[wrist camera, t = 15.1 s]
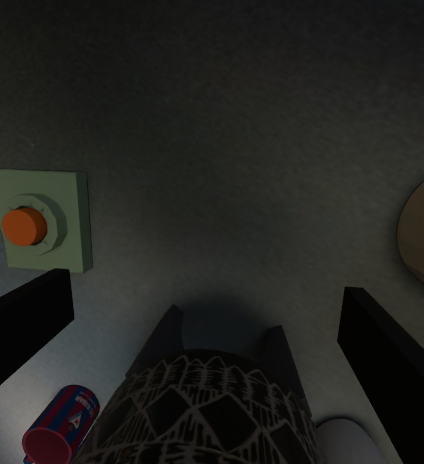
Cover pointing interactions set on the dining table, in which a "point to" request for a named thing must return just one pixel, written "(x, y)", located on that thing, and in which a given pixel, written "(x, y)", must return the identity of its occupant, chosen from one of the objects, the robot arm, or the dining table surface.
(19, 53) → the dining table surface
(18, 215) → the button
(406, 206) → the canister
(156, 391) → the planter
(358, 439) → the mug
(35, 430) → the cup
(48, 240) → the block
